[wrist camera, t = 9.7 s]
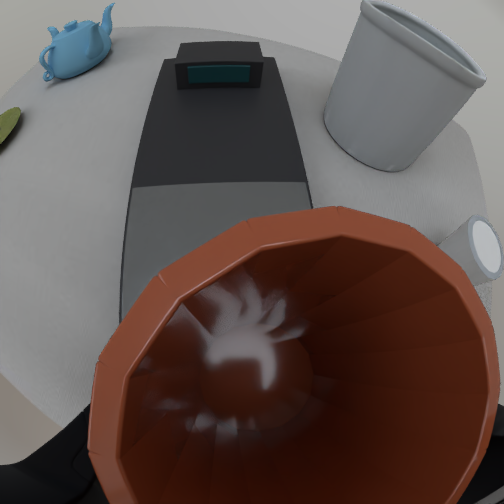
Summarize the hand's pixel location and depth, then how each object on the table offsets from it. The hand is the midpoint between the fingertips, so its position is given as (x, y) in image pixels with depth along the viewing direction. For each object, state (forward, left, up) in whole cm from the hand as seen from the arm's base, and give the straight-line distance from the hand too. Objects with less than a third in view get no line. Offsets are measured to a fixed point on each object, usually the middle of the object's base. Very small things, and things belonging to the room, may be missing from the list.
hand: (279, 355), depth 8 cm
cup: (-1, 0, -7) cm, 7 cm away
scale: (+16, +2, -13) cm, 21 cm away
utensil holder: (+24, -18, -14) cm, 34 cm away
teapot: (+48, +28, -14) cm, 58 cm away
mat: (+30, +40, -14) cm, 52 cm away
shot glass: (+5, -23, -14) cm, 28 cm away
